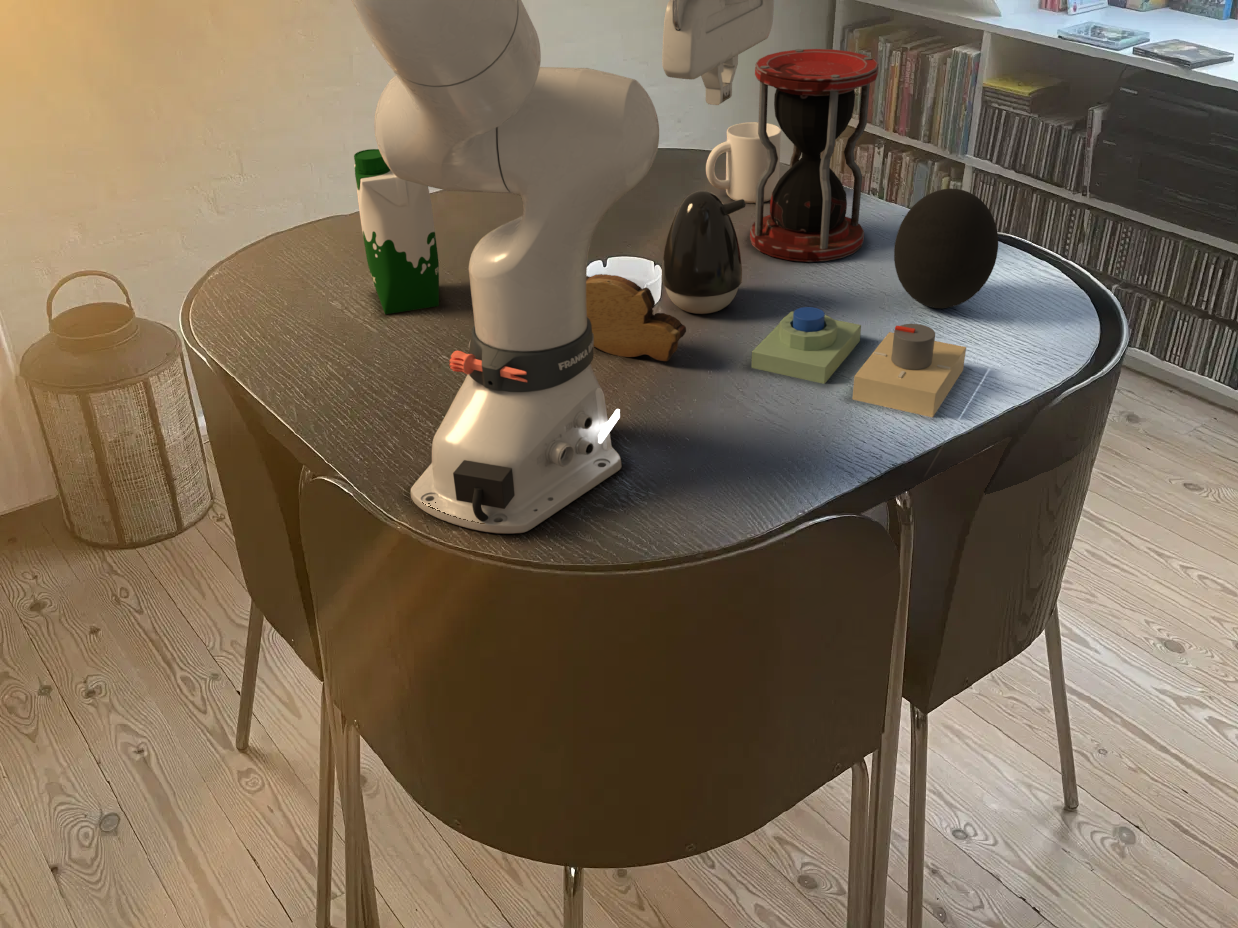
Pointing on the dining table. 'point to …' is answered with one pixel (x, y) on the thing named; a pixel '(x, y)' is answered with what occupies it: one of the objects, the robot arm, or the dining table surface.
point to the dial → (913, 346)
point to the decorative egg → (946, 248)
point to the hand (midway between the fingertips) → (718, 101)
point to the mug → (745, 162)
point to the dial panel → (908, 379)
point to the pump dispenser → (702, 254)
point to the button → (808, 319)
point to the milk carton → (397, 235)
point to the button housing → (806, 349)
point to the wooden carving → (629, 319)
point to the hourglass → (811, 153)
